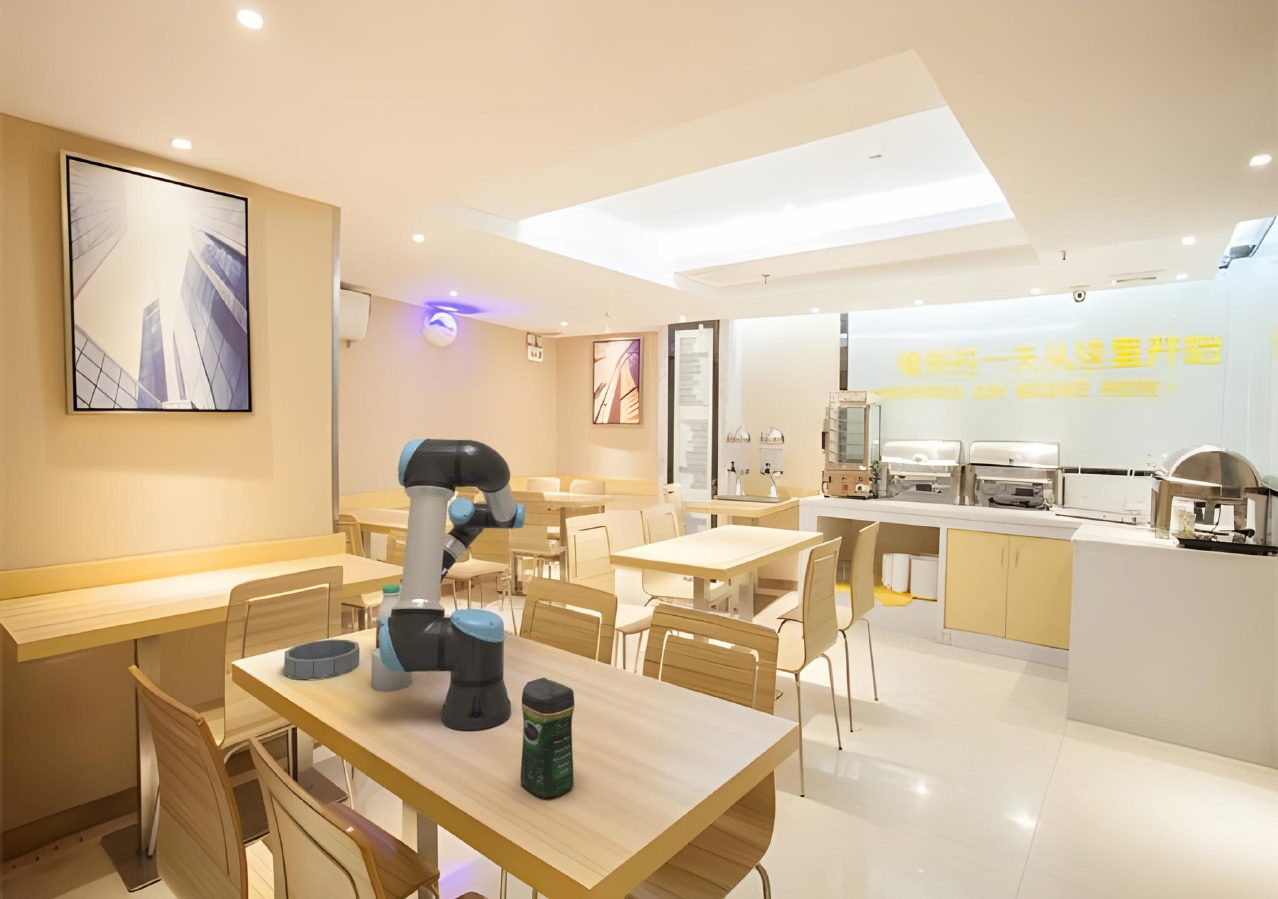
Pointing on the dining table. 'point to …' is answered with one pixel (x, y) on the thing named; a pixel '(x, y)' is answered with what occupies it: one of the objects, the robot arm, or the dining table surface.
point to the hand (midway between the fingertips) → (397, 609)
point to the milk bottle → (386, 606)
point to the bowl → (321, 659)
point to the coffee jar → (547, 737)
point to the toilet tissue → (387, 676)
